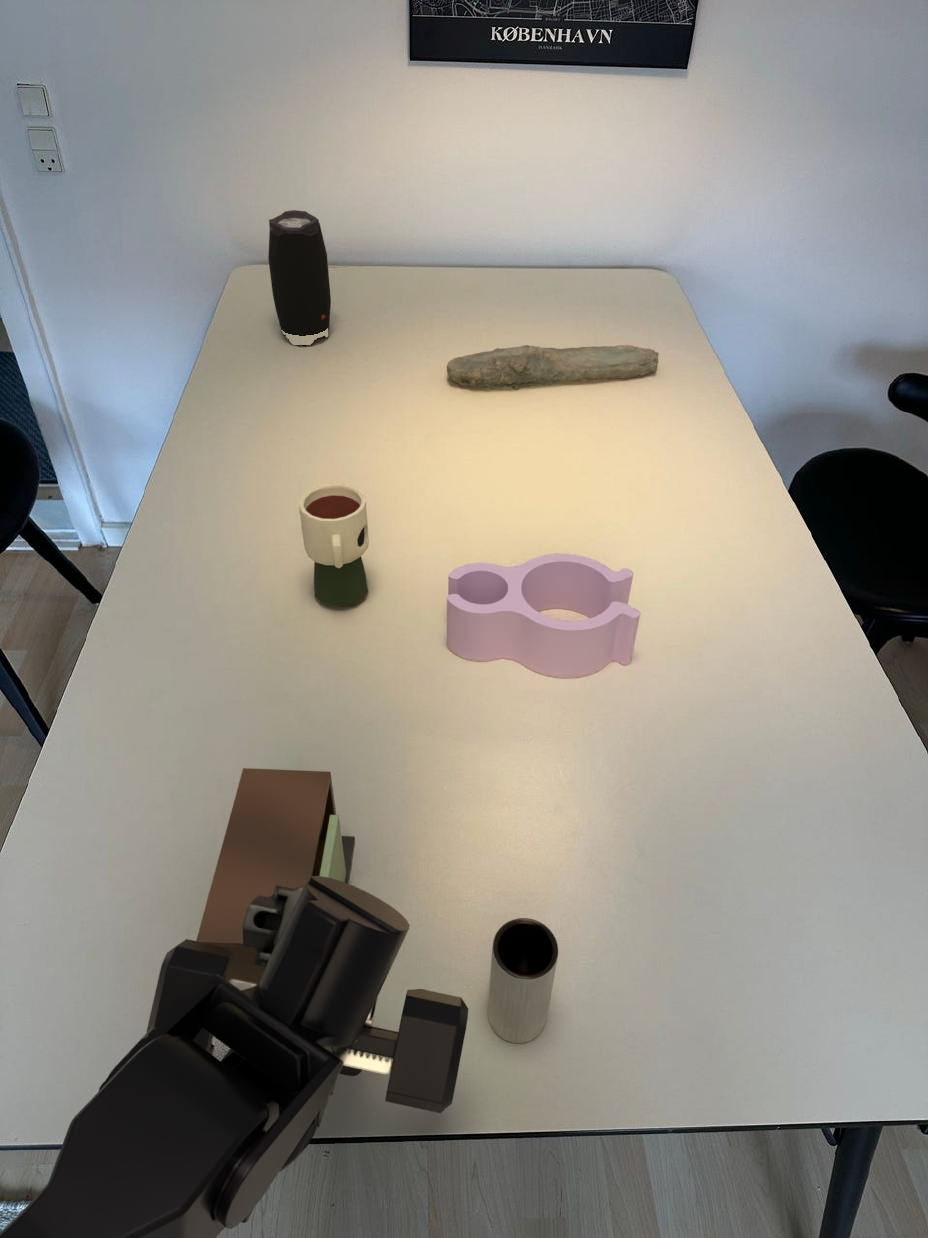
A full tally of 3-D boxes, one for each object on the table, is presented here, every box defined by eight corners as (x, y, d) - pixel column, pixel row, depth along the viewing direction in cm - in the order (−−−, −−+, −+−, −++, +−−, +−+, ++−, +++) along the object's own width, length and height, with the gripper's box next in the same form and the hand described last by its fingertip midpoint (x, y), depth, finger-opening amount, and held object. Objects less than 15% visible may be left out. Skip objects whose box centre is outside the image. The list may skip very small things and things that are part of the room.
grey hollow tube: (548, 1045, 67) (560, 980, 60) (487, 1043, 67) (493, 979, 60) (544, 985, 71) (556, 917, 64) (487, 984, 71) (492, 916, 64)
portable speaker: (341, 340, 154) (332, 221, 140) (291, 352, 150) (276, 231, 137) (320, 321, 159) (309, 205, 146) (270, 333, 155) (255, 214, 142)
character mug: (376, 622, 101) (370, 528, 93) (312, 628, 100) (300, 534, 92) (368, 561, 109) (361, 470, 100) (308, 567, 108) (297, 475, 99)
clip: (444, 674, 95) (445, 626, 91) (449, 597, 105) (450, 549, 100) (633, 680, 95) (643, 632, 91) (622, 602, 104) (630, 555, 100)
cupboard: (330, 1009, 69) (319, 947, 62) (218, 1004, 69) (195, 941, 63) (355, 839, 80) (347, 771, 74) (259, 835, 80) (243, 767, 74)
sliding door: (348, 957, 71) (340, 902, 66) (324, 956, 71) (314, 901, 66) (360, 873, 77) (353, 815, 71) (338, 872, 77) (330, 814, 71)
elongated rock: (665, 389, 145) (644, 364, 153) (672, 358, 142) (650, 333, 149) (452, 395, 139) (441, 368, 146) (454, 362, 135) (442, 336, 143)
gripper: (485, 951, 48) (485, 895, 63) (146, 880, 49) (229, 841, 64) (444, 1169, 47) (455, 1057, 62) (98, 1092, 48) (193, 1001, 63)
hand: (332, 984), depth 63 cm, fingers closed
